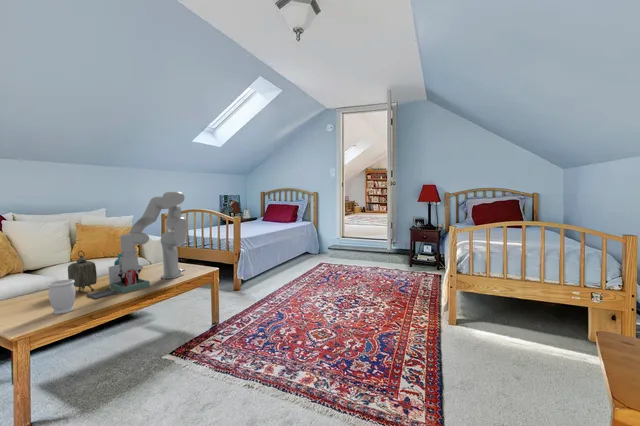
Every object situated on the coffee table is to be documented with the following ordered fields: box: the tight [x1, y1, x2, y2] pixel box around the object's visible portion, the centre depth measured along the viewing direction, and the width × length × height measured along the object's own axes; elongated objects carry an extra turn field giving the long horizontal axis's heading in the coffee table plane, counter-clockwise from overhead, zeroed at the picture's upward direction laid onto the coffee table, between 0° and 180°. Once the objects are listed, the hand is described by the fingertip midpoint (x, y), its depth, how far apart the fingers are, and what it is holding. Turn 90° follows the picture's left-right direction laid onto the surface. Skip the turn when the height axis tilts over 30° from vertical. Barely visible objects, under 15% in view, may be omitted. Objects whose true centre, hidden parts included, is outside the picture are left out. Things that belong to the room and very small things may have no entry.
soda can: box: [123, 269, 137, 287], centre depth 198 cm, size 7×7×12 cm
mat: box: [85, 288, 119, 300], centre depth 186 cm, size 12×12×1 cm
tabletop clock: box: [67, 250, 98, 293], centre depth 192 cm, size 14×9×25 cm, turn 62°
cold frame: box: [108, 265, 151, 294], centre depth 198 cm, size 16×17×14 cm
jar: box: [47, 279, 77, 315], centre depth 159 cm, size 11×10×15 cm
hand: (130, 281), depth 198 cm, fingers closed on soda can, 7 cm apart
